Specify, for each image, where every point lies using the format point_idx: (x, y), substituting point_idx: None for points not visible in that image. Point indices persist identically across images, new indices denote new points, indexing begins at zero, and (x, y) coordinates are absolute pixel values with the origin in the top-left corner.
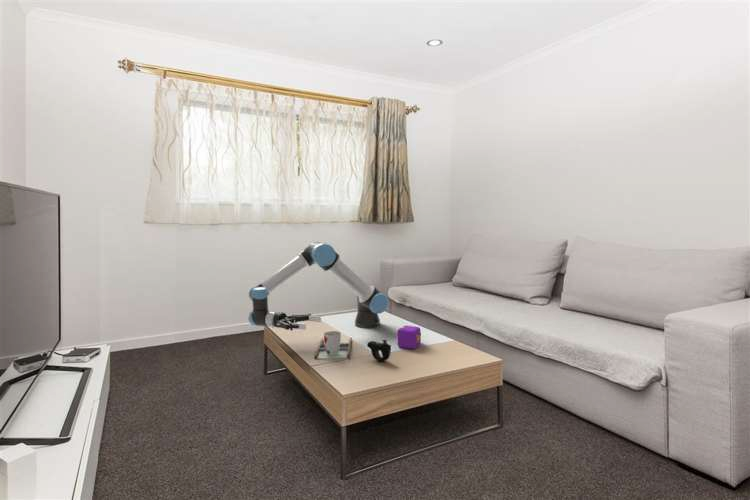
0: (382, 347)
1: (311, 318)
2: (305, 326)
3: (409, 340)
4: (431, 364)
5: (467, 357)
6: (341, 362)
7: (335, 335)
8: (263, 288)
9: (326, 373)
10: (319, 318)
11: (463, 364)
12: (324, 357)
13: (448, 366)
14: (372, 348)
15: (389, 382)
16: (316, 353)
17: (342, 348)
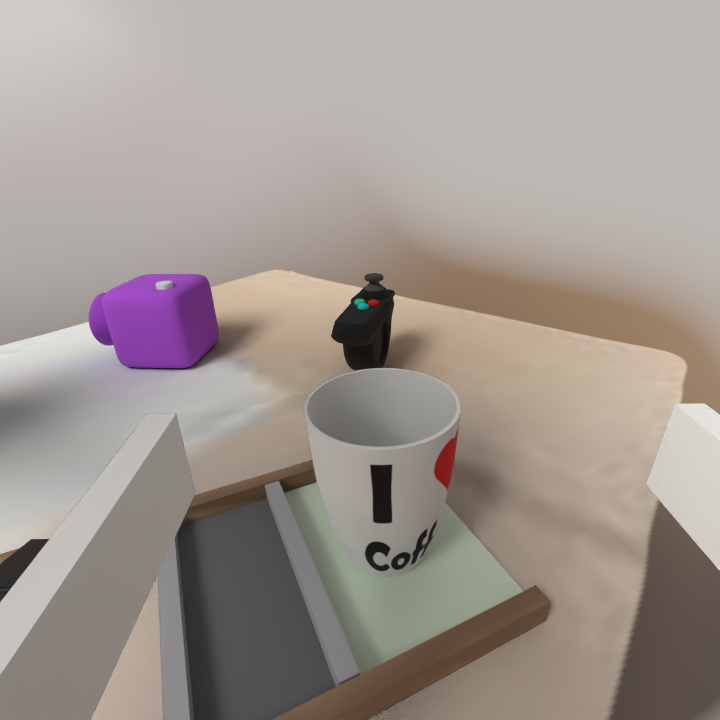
0: (392, 298)
1: (82, 636)
2: (669, 444)
3: (211, 314)
4: (342, 305)
5: (268, 286)
6: (472, 453)
7: (419, 373)
8: None
9: (642, 447)
10: (179, 447)
11: (318, 284)
12: (477, 556)
13: (342, 292)
14: (376, 333)
15: (517, 323)
16: (492, 618)
17: (288, 506)
